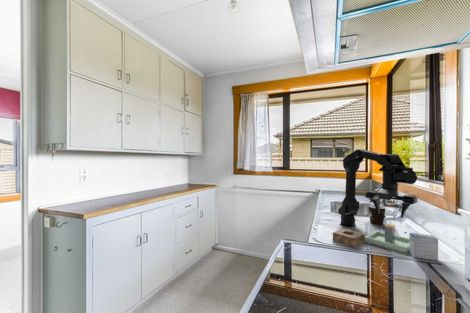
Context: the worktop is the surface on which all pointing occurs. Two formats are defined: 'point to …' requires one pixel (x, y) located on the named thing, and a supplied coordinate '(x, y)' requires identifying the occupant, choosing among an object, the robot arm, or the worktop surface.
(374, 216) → the coffee mug
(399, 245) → the tray
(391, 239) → the pin
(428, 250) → the medicine box
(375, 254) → the worktop surface
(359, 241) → the brown block with hole
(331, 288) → the worktop surface
